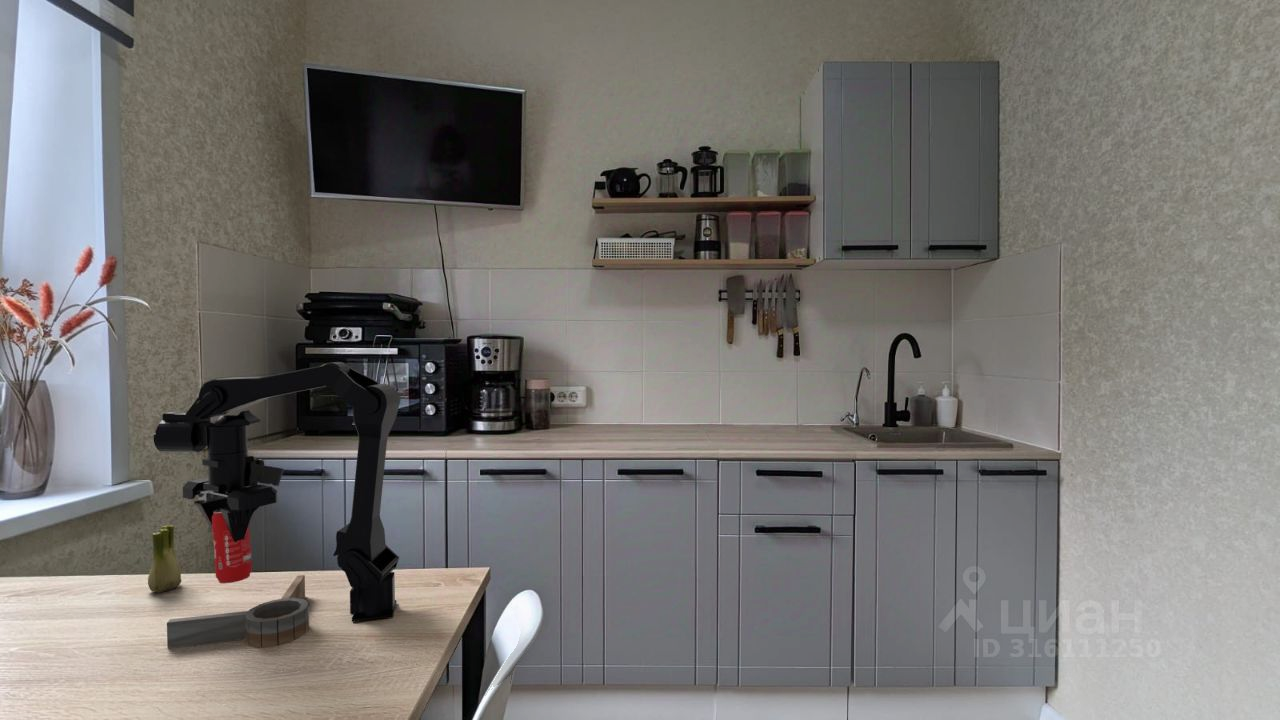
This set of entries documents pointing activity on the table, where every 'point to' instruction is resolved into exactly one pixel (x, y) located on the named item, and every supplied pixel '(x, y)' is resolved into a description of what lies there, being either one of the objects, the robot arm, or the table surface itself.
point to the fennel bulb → (164, 562)
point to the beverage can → (230, 552)
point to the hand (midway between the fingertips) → (230, 542)
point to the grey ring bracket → (247, 623)
